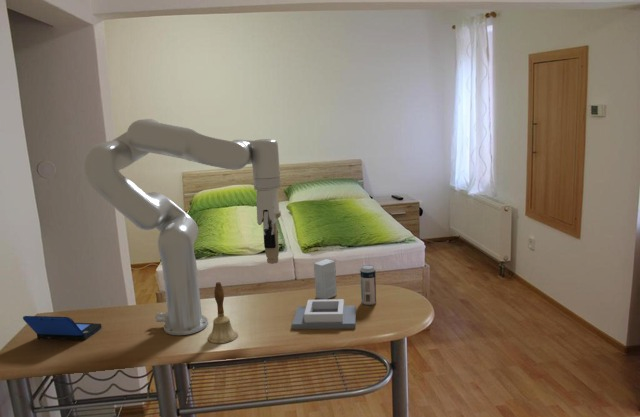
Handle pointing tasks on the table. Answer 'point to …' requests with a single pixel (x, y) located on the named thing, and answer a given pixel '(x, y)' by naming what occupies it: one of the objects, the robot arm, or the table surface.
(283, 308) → the table surface
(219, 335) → the hand bell
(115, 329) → the table surface
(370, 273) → the beer can
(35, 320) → the handheld game console
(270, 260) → the handle
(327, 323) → the socket board
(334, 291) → the skincare box
